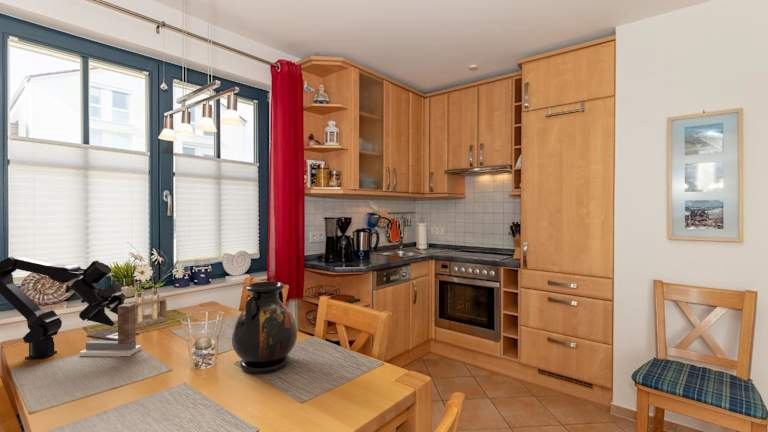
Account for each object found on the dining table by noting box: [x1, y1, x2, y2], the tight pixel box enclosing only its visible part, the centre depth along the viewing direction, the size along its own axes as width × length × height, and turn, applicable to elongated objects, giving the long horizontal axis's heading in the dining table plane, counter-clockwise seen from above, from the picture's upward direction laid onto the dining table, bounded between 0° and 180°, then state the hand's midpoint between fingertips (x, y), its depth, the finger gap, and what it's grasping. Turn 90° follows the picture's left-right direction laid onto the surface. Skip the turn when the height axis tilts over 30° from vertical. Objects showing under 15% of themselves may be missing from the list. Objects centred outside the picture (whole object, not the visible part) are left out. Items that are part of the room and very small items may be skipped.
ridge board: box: [79, 340, 142, 357], centre depth 139 cm, size 18×7×4 cm, turn 89°
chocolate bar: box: [86, 328, 139, 341], centre depth 158 cm, size 9×1×18 cm
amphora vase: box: [231, 281, 298, 375], centre depth 129 cm, size 22×22×28 cm
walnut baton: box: [117, 302, 137, 344], centre depth 139 cm, size 4×4×14 cm
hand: (120, 321), depth 139 cm, fingers open, 9 cm apart
